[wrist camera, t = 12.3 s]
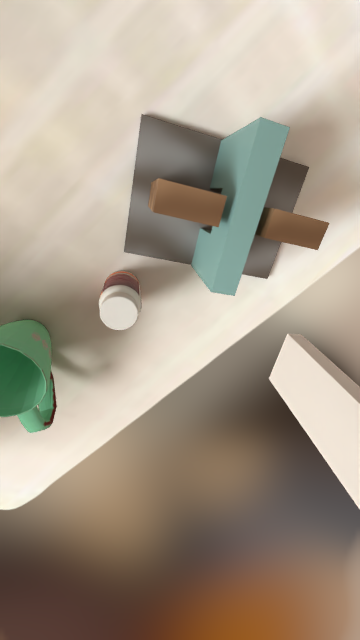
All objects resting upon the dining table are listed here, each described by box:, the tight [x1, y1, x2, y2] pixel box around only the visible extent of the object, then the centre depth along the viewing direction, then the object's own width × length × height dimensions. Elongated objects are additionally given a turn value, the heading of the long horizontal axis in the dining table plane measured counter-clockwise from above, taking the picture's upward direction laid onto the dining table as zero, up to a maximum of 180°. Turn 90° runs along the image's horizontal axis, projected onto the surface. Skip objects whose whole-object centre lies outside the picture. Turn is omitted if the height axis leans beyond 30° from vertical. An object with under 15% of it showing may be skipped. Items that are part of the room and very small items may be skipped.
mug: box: [0, 319, 57, 433], centre depth 32 cm, size 15×10×10 cm
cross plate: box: [191, 117, 290, 296], centre depth 27 cm, size 14×2×10 cm, turn 167°
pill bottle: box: [99, 271, 142, 330], centre depth 31 cm, size 5×5×8 cm
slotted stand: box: [124, 114, 329, 279], centre depth 27 cm, size 14×20×11 cm
